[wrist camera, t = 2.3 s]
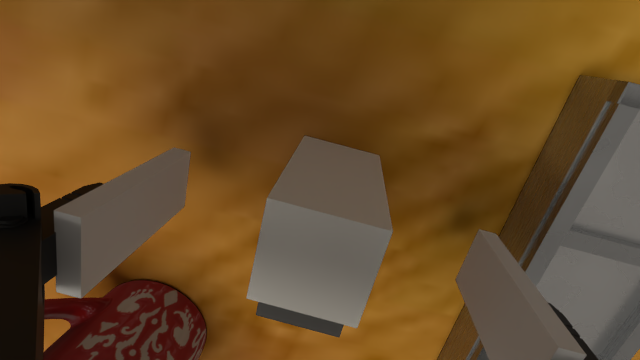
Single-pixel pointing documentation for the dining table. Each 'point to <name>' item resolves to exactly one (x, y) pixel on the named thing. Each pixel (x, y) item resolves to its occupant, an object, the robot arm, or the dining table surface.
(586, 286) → the rail
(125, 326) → the mug
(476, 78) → the dining table surface
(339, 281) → the small grey block
